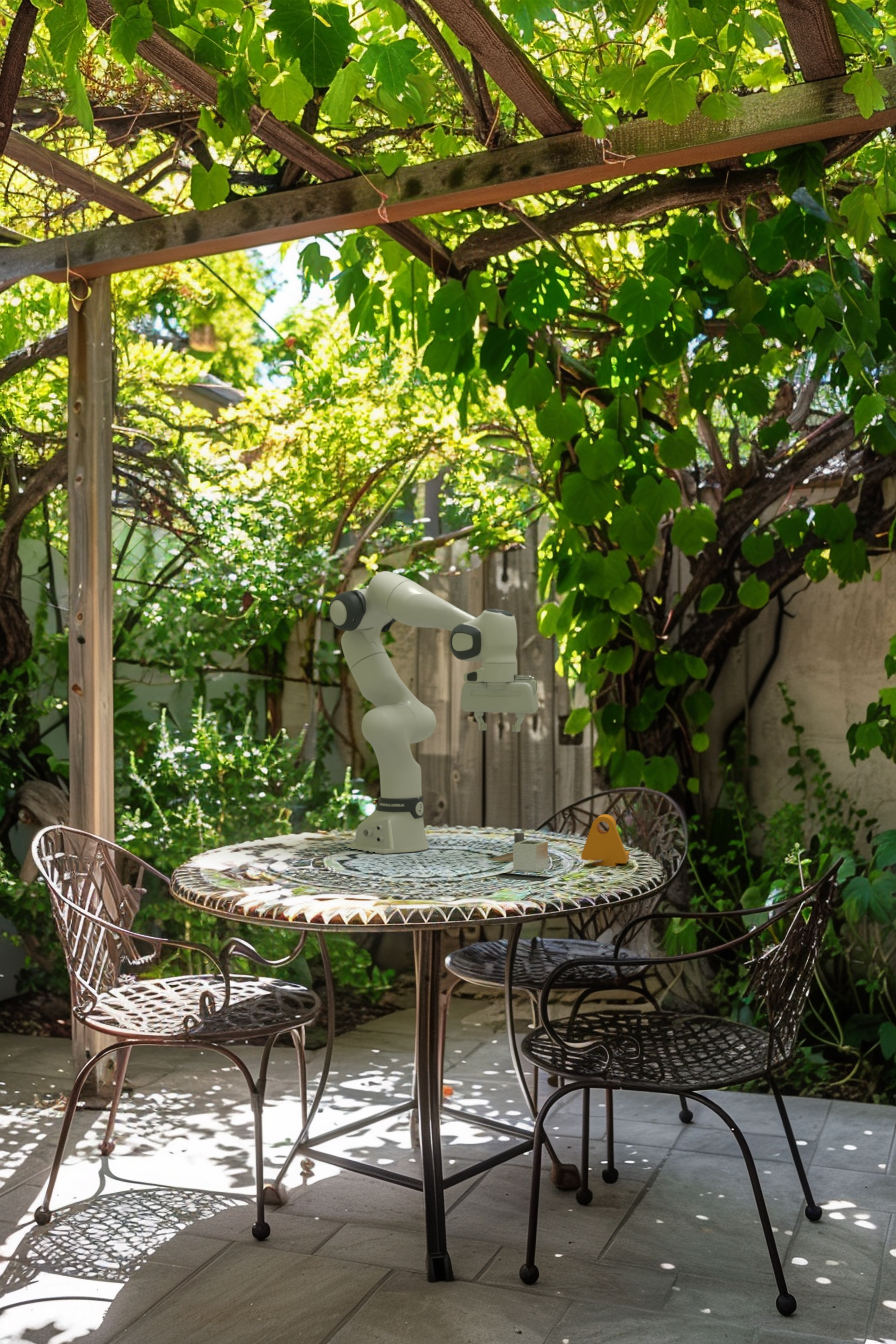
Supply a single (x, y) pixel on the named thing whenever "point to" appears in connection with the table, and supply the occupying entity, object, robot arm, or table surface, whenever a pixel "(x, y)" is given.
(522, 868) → the white box
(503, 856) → the post board
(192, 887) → the table surface
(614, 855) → the bracket
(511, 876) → the mat
